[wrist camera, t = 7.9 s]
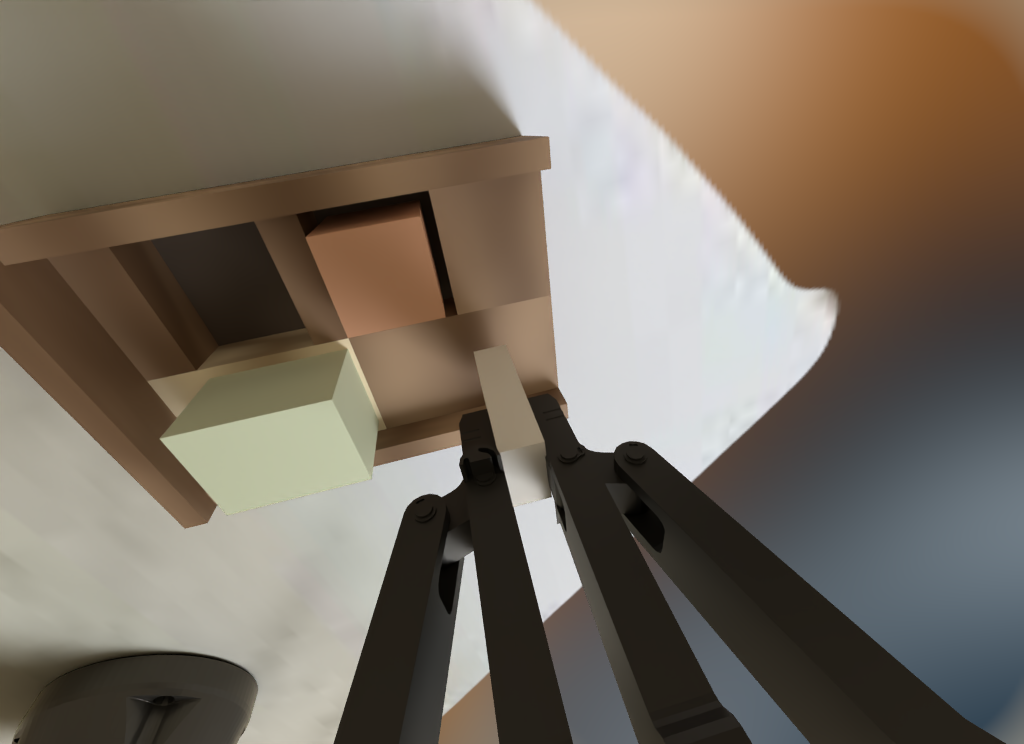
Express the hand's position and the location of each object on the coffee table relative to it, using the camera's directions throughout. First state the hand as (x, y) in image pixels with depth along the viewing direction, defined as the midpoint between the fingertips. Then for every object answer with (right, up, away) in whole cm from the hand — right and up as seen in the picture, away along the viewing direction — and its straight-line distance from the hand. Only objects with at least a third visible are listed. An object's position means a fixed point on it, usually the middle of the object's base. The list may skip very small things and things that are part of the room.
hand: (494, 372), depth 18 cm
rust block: (-5, +6, 0) cm, 7 cm away
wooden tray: (-7, +3, +1) cm, 8 cm away
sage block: (-9, -1, 0) cm, 9 cm away
